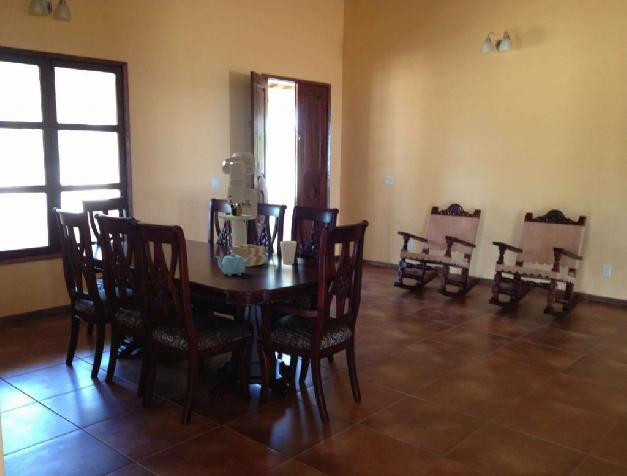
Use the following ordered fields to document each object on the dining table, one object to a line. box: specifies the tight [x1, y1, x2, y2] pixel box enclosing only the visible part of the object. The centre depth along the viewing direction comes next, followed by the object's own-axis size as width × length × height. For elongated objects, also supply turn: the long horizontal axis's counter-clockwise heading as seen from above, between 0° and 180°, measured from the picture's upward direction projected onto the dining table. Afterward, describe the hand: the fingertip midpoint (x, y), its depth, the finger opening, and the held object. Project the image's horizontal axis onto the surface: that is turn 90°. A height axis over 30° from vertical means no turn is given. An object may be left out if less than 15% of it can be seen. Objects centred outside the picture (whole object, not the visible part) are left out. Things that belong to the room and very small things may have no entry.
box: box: [231, 243, 267, 267], centre depth 321 cm, size 14×14×10 cm
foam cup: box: [279, 240, 297, 265], centre depth 322 cm, size 10×9×13 cm
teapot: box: [214, 253, 251, 277], centre depth 289 cm, size 15×14×11 cm
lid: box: [218, 206, 256, 222], centre depth 317 cm, size 15×15×8 cm
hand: (236, 214), depth 317 cm, fingers closed on lid, 3 cm apart
